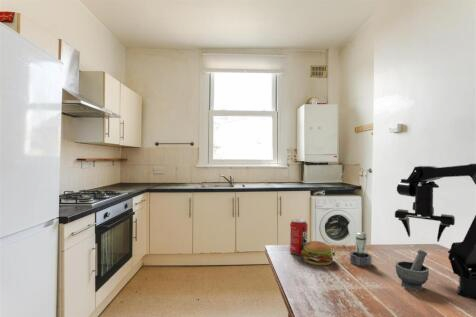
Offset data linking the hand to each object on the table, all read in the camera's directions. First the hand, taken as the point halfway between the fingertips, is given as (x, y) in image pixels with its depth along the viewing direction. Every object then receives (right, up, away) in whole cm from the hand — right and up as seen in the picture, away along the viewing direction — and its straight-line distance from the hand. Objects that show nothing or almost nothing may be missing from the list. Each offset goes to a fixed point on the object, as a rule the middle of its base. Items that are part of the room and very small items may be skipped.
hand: (423, 239), depth 105 cm
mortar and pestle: (-11, -13, -12) cm, 21 cm away
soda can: (-44, -13, +20) cm, 50 cm away
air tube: (-20, -13, +9) cm, 25 cm away
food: (-37, -13, +10) cm, 41 cm away
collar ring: (-20, -13, +9) cm, 25 cm away
